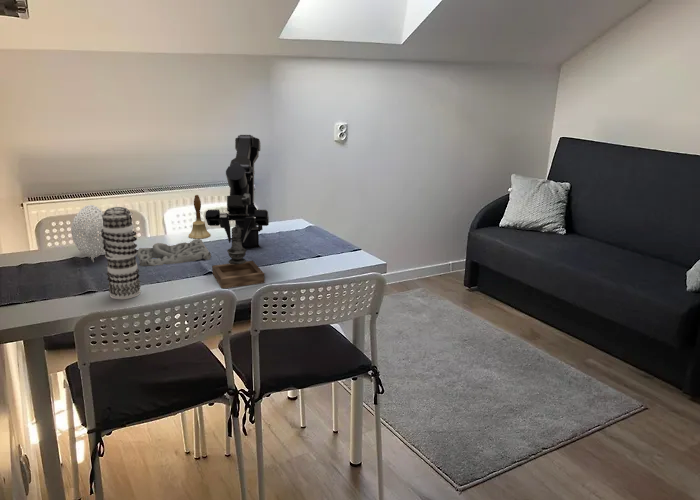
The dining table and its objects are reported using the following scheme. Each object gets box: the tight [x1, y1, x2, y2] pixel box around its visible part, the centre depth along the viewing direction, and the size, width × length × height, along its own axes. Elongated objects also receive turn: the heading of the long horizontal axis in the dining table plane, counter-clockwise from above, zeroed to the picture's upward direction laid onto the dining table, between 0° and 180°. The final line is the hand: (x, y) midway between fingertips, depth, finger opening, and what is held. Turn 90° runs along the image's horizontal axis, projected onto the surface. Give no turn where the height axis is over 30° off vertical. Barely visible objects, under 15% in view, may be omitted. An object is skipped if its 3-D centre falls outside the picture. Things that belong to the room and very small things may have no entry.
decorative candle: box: [100, 206, 142, 300], centre depth 170 cm, size 9×9×25 cm
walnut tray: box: [211, 260, 266, 289], centre depth 186 cm, size 13×13×3 cm
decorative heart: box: [70, 204, 105, 263], centre depth 201 cm, size 18×11×17 cm, turn 13°
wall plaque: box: [136, 239, 212, 267], centre depth 207 cm, size 24×19×4 cm
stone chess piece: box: [226, 223, 248, 264], centre depth 183 cm, size 6×6×12 cm
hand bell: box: [188, 194, 212, 240], centre depth 227 cm, size 8×8×16 cm
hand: (236, 242), depth 182 cm, fingers closed on stone chess piece, 3 cm apart
